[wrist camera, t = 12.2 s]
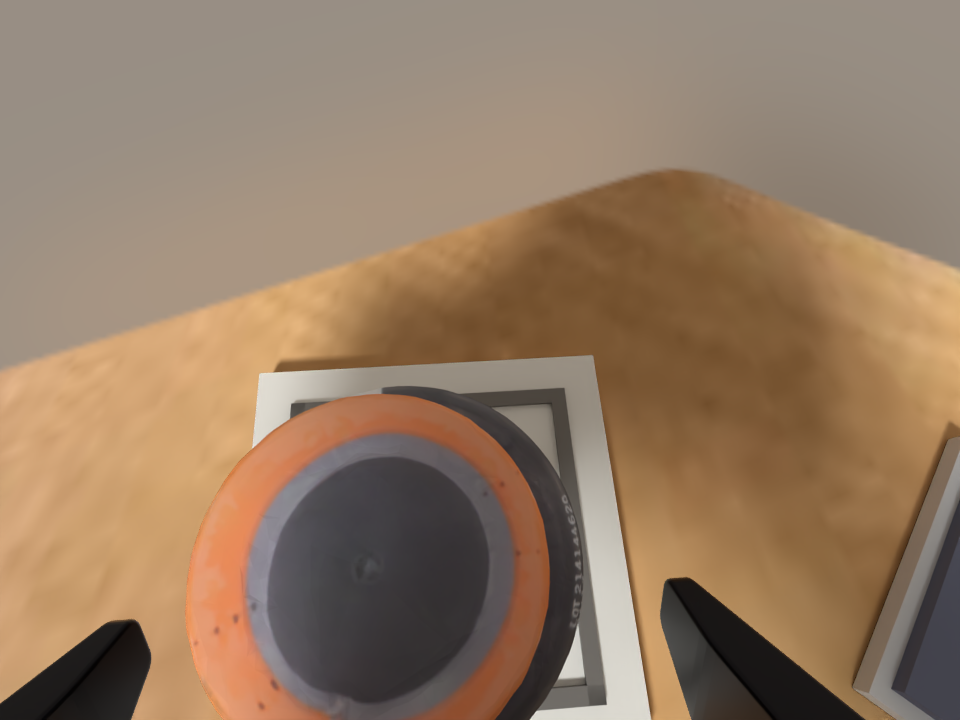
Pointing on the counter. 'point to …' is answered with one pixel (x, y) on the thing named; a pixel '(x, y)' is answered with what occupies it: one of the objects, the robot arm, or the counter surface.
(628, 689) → the board
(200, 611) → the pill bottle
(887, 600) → the ink pad
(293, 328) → the counter surface
